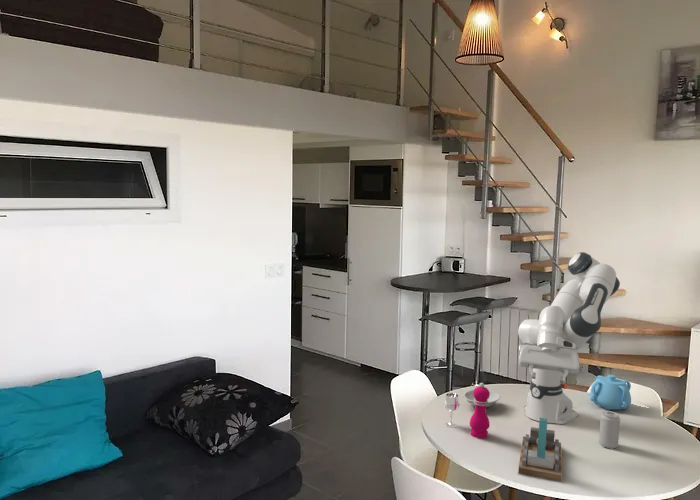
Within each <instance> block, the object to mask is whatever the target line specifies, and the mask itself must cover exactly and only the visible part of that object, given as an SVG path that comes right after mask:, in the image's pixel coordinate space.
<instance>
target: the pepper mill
mask: <svg viewBox="0 0 700 500" xmlns="http://www.w3.org/2000/svg"><path fill="white" fill-rule="evenodd" d="M473 390H474V391H473V396H474V397H475V399H474V403H475V406H474V411H473V413H472V416H471V417H470V419H469V426H470V427H471V428H470V436H471V437H473V438H477V439H487V438H488V436H489V433H488V429H490V419H489V417H488V414H487V407H486V405H487V404H488V400H487V399H488V398H489V396H490V393H489V390H490V389H489V388H487V387H485V383H484V382H480V383H479V385H478V386H476V387H474V389H473Z"/></svg>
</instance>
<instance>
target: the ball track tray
mask: <svg viewBox="0 0 700 500" xmlns="http://www.w3.org/2000/svg"><path fill="white" fill-rule="evenodd" d="M538 434H539V427H533V426H530V433H529V434H525V436H522V442H521V448H520V449H521V450H520V457H519V463H518V475H519V474H520V475H525V476H529V477H535V478H541V479H546V480H552V481H557V482H562V442H560V440H559V439H558V438H555V430H554V429H553V430H551V429H547V433H546V447H545V453H551V454H554V466H553V469H548V468H542V467H537V466H531V465H527V460H528V450H533V451H537V448H538Z"/></svg>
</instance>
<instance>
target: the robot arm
mask: <svg viewBox="0 0 700 500" xmlns="http://www.w3.org/2000/svg"><path fill="white" fill-rule="evenodd" d="M567 270H568V272H570V274H571V275H572V276H574V277H575V278H576V279H575V278H573V279H570V280H568V281H567V282H566V283H565V284H564V285H563V286H562V287H561V289H560V290H559V291H558V293H557V294H556V296H555V298H554V300H553V301H552V302H551V304H550V305H548V306H546V307H544V308H543V309H542V310H541V312H540V313H539V318H538V319H535V318H534V319H533V318H532V319H531V318H530V319H524V320H523V321H522V322H521V323H520V325H519V326H518V331H517V332H518V337H519V339H520V341H521V342H522V343H520V344H519V345H518V352H519V357H518V365H519V367H521V368H528V371H529V373H530V379H531V380H530V383H529V389H530V390H529V391H528V395H527V398H526V399H527V400H526V405H525V406H524V408H523V410H524V411H525V414H524V415H525V416H526V417H527V418H529V419H531V420H534V421H536V422H539V420H540V418H545V419H547V424H548V423H549V424H557V425H565V424H566V423H568V422H570V421H572V420H573V419H575V418H577V417H578V416H579V413H578V411H576V410H575V409H574V408H573V405H574V404H573V401H572V399H571V398H569V397H568V395H566V394H565V393H564V390H566V389H567V388H568V385H567V383H565V380H566V379H567V377H568V375H569V374H573V375H577V374H578V373H579V372H580V366H581V365H580V357H579V356H580V355H579V354H578V351H579V349H580V348H582V347H583V346H584V345H585V344H586V343H587V342H588V341H589V340H590V339H591V337H593V335H595V334H596V333H598V332H599V330H600V329H601V327H602V318H601V317H602V316H601V315H602V311H603V307H604V305H605V304H606V303H607V301H608V300H609V299H610V297H612V296H613V295H614V294H615V293H616V292H617V291H618V290H619V288H620V285H621V282H620V280H619V279H618V277H617V272H616V270H615V268H613V267H612V266H611V265H609V264H607V263H600V262H599V261H598V260H597V259H595V258H594V257H592V255H591V254H589V253H587V252H583V251H582V252H578V253H576V254H574V256H572V257H571V258H570V260H569V262H568V264H567ZM562 373H563V376H562ZM563 389H564V390H563Z"/></svg>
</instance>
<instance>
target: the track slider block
mask: <svg viewBox="0 0 700 500" xmlns="http://www.w3.org/2000/svg"><path fill="white" fill-rule="evenodd" d="M538 422H539V423H538V428H539V434H538V448H537V451H533V450H528V460H527V465H531V466H537V467H542V468H548V469H553V466H554V454H551V453H545V447H546V433H547V430H548V423H547V419H545V418H540V420H539V421H538Z"/></svg>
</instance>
